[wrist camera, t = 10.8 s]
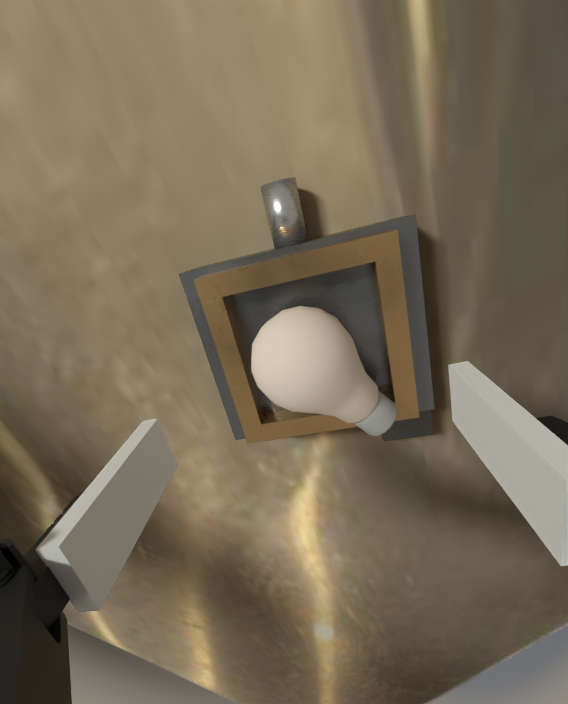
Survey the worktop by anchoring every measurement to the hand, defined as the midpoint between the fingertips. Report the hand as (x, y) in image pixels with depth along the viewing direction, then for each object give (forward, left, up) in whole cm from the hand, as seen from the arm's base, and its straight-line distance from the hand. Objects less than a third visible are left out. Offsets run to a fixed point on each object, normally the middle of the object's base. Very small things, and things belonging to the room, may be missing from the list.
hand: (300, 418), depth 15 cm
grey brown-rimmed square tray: (0, 0, -13) cm, 13 cm away
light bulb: (+1, -2, -9) cm, 10 cm away
